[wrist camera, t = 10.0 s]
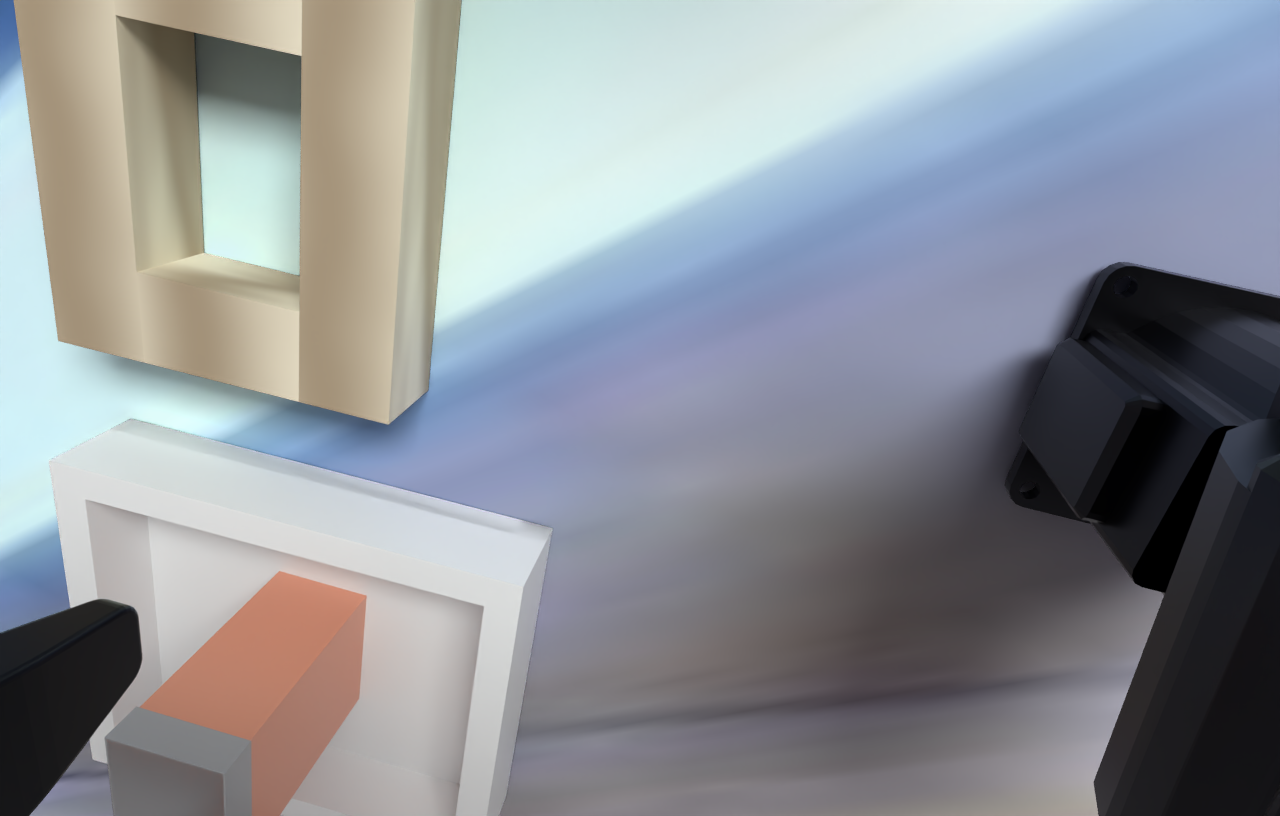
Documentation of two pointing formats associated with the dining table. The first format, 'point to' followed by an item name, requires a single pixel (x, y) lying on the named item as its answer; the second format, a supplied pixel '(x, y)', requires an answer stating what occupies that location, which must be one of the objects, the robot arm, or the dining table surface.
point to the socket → (172, 204)
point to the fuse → (244, 708)
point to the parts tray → (334, 555)
